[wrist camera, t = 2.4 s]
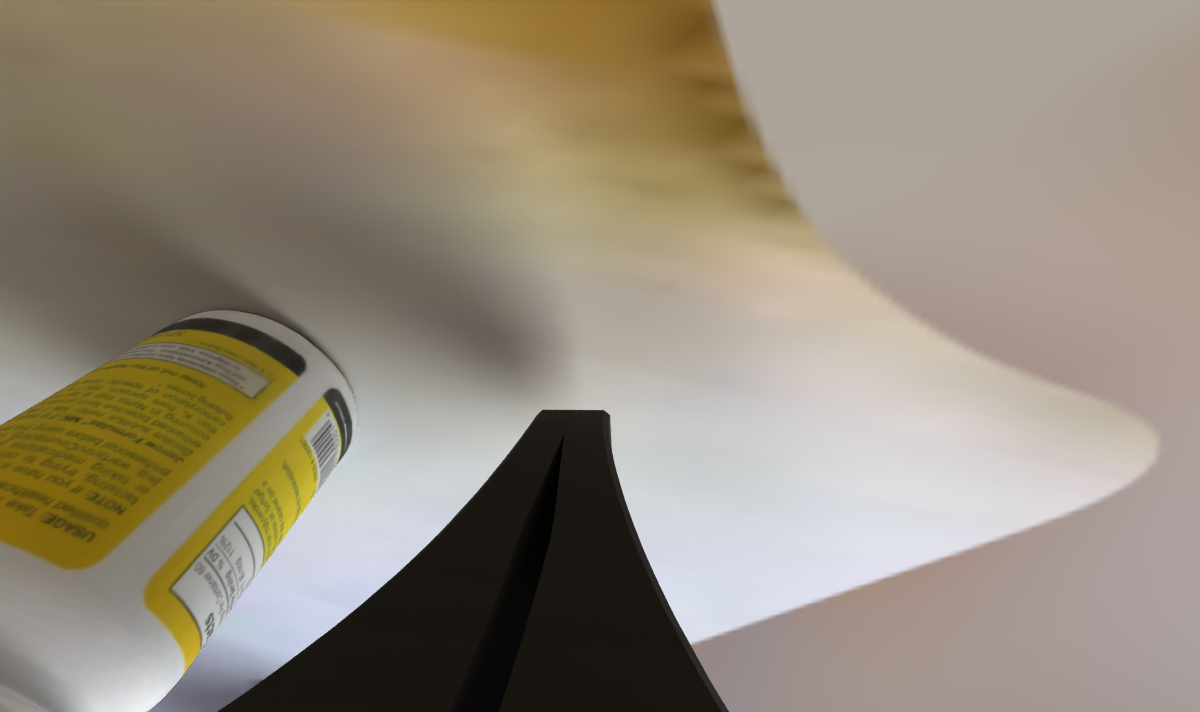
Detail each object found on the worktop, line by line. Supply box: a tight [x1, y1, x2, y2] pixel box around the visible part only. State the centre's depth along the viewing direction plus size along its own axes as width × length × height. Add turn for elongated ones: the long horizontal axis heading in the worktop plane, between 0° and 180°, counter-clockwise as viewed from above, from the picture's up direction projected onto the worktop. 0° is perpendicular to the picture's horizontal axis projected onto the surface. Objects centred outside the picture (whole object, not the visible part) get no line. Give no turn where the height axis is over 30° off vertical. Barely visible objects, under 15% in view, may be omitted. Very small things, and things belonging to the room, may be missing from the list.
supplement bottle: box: [0, 310, 358, 712], centre depth 9 cm, size 5×5×8 cm
